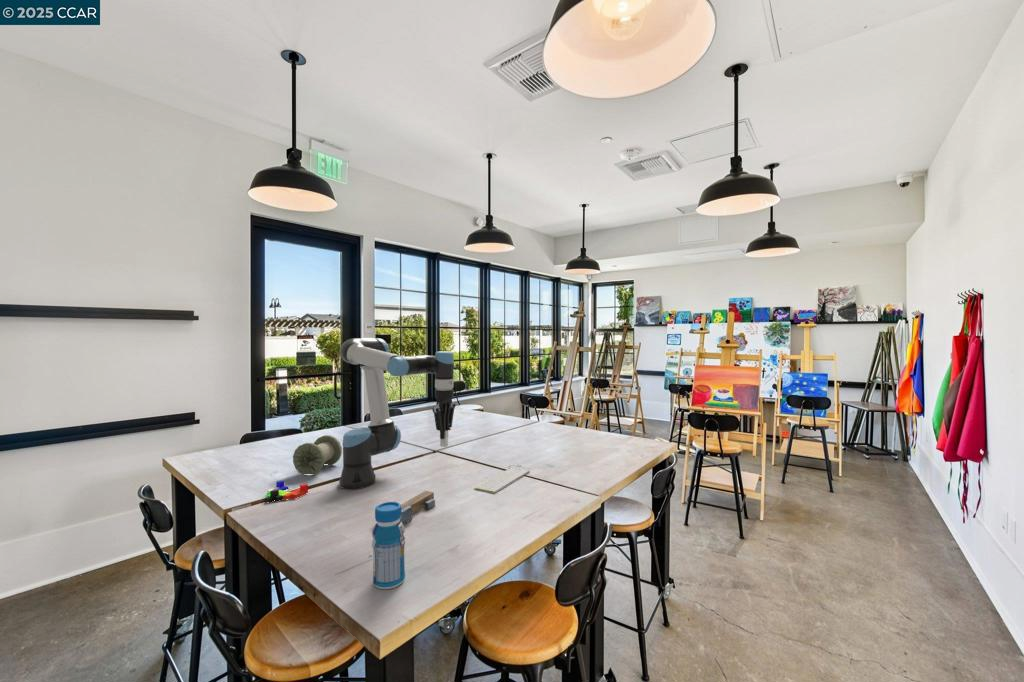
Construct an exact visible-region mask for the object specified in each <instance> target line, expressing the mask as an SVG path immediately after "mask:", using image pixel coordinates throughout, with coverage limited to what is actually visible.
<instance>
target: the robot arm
mask: <svg viewBox="0 0 1024 682" xmlns="http://www.w3.org/2000/svg"><path fill="white" fill-rule="evenodd" d="M339 355H340V358H341V359H342V361H344V362H346V363H348V364H351V365H357V366H358V365H359V367H360V369H361V370H363V372H364V380H365V386H366V387H365V388H366V394H367V395H366V396H367V401H368V402H367V403H368V409H369V417H370V422H369V424H368V425H367V427H365V426H364V427H359V428H353V429H350V430H348V431H346V432H345V433H344V434H343V437H342V458H343V459H342V461H343V462H342V464H343V465H342V470H341V474H340V478H339V479H338V480H339V481H338V484H339V485H338V486H339V487H340V488H342V489H345V490H346V489H347V490H356V489H363V488H367V487H369V486H372V485H374V484H375V483H376V481H377V480H376V479H377V478H376V477H377V476H376V474H375V471H374V468H373V465H372V456H377V455H380V454H383V453H388V452H391V451H394V450H396V449H397V447H399V445H400V443H401V440H402V434H401V430H400V428H399V426H398V425H396V424H395V421H394V420H393V419H391V416H390V408H389V404H388V403H389V402H388V395H387V390H386V389H387V387H386V381H385V374H384V371H385V372H388V374H389V375H391V376H393V377H404V376H414V375H420V374H422V375H423V374H434V376H435V377H434V379H435V380H434V388H435V389H434V398H435V399H436V406H435V407H433V408H432V409H431V410H432V412H433V415H434V423H435V424H434V425H435V429H436V431H439V439H440V441H439V442H440V444H439V445H440V447H443V448H446V447H449V431H451V428H453V420H454V412H455V409H456V404H455V403H453V400H452V399H454V397H455V395H454V391H455V390H454V389H453V388H454V377H455V376H454V368H455V367H454V365H455V361H454V360H455V359H454V352H452V351H448V350H447V351H446V350H441V351H436V352H435V354H434V355H428V354H417V355H412V356H411V355H410V356H404V355H400V354H395V353H391V352H390V348H389V345H388V343H387V342H386V341H385V340H384V339H383V338H379V337H361V338H359V337H358V338H357V337H356V338H355V337H353V338H349V339H346V340H345V341H344V342H343V343H342V344H341V346H340V348H339Z"/></svg>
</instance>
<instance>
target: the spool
mask: <svg viewBox="0 0 1024 682" xmlns="http://www.w3.org/2000/svg"><path fill="white" fill-rule="evenodd" d="M342 455H343V446H342V445H341V442H340V441H339V440H338V439H337V438H336V437H335V436H333V435H328V434H327V435H326V434H325V435H323V436H320V437H317V439H316V440H315V441H314V443H313V442H305V443H303V444H300V445H299V446H297V447H296V448H295V449H294V452H293V454H292V463H293V465H294V469H296V471H297V472H298V473H299V474H301V475H303V474H314V475H316V474H319V473H320V472H321V470H322V469H323V467H324V466H323V465H324V464H328V465H330V466H333V465H335V464H337V462H338V461H339V460H340V459H341V456H342Z"/></svg>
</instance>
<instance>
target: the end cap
mask: <svg viewBox="0 0 1024 682" xmlns="http://www.w3.org/2000/svg"><path fill="white" fill-rule="evenodd" d="M400 520H401V522H402V523H403V525H405V524H407V523H409V522H410V521H412V520H413V515H412V507H411V506H408V507H406V508H404V509H402V515H401V518H400Z"/></svg>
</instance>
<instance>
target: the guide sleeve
mask: <svg viewBox="0 0 1024 682" xmlns="http://www.w3.org/2000/svg"><path fill="white" fill-rule="evenodd" d="M435 506H436V499H430V500H429V501H427V502H425V507H424V509H425V510H427V511H428V510H429V511H430V510H431V509H432V508H434V507H435Z"/></svg>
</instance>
